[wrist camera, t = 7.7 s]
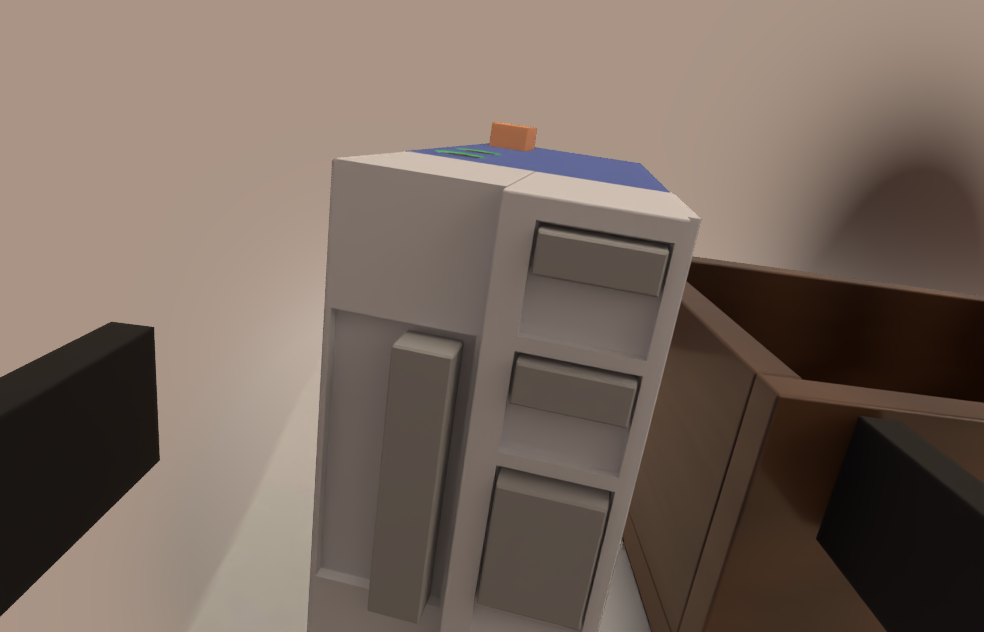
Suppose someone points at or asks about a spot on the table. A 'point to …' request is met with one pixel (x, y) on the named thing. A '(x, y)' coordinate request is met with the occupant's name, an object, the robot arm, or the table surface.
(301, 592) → the table surface
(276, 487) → the table surface
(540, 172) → the walkman
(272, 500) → the table surface
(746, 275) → the chest
